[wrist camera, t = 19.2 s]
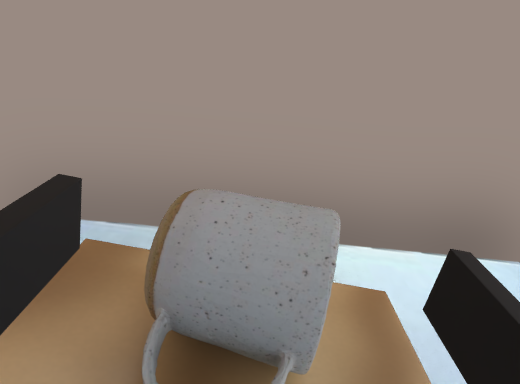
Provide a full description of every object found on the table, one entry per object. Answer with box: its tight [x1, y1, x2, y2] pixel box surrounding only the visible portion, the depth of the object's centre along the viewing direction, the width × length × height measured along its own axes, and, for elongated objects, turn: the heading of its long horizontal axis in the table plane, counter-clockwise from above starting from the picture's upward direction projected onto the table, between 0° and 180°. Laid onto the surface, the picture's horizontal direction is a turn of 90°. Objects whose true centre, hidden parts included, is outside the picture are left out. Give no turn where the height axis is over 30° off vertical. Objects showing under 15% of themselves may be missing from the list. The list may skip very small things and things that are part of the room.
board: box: [0, 239, 431, 384], centre depth 19 cm, size 21×15×2 cm
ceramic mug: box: [142, 190, 340, 384], centre depth 17 cm, size 11×8×8 cm
